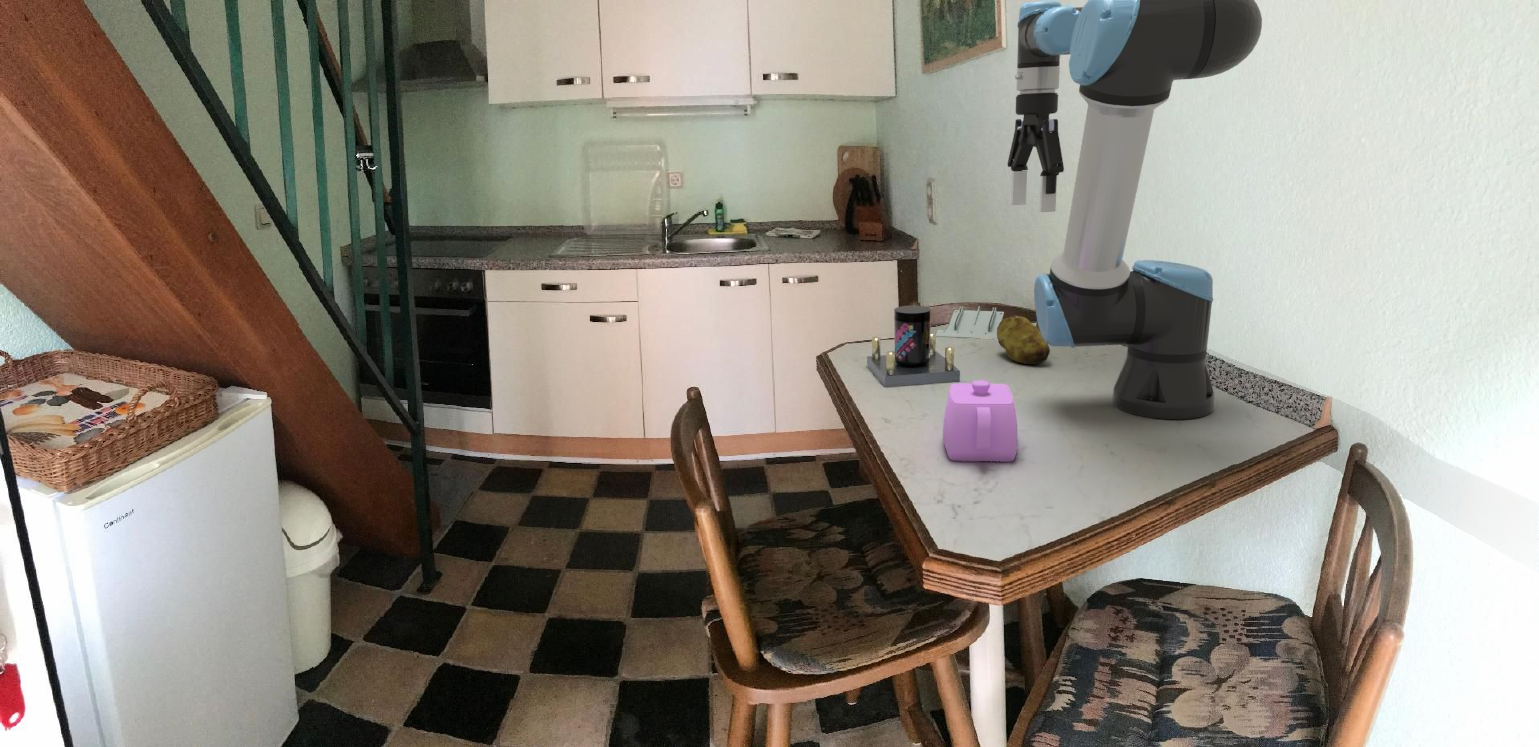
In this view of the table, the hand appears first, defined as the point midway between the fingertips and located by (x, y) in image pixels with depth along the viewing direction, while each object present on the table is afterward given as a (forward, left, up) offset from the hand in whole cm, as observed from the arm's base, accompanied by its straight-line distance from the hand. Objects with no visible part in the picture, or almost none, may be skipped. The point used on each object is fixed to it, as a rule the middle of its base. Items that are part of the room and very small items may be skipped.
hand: (1032, 208), depth 172 cm
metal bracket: (+19, +4, -29) cm, 35 cm away
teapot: (-47, +27, -29) cm, 61 cm away
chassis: (-8, +26, -29) cm, 40 cm away
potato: (-4, +3, -29) cm, 29 cm away
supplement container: (-8, +26, -27) cm, 38 cm away
